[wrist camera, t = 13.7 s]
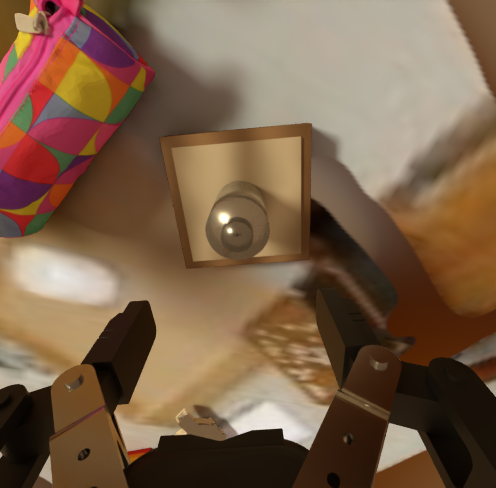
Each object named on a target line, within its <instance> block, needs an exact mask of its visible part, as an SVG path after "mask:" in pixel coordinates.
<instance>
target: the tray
mask: <svg viewBox="0 0 496 488" xmlns="http://www.w3.org/2000/svg"><path fill="white" fill-rule="evenodd" d="M311 134H312V124H310V123H302V124H291V125H280V126H269V127H258V128H247V129H236V130H225V131H214V132H203V133H192V134H181V135H170V136H164V137H159V139H160V143H161V148H162V153H163V158H164V163H165V167H166V172H167V177H168V182H169V187H170V191H171V196H172V201H173V206H174V211H175V216H176V220H177V225H178V230H179V235H180V240H181V244H182V249H183V254H184V259H185V264H186V268H187V269H188V268H201V267H215V266H229V265H242V264H256V263H270V262H283V261H297V260H310V197H311ZM234 181H246V182H249V183H251V184H253V185H255V186H256V187H257V188H258V189H259V190H260V191H261V193H262V195H263V197H264V201H265V206H266V211H267V216H268V221H269V227H270V235H269V239H268V242H267V244H266V246H265V247H264V248H263V250H262V251H261V252H259V253H258V254H257V255H255V256H253V257H251V258H249V259H245V260H232V259H228V258H225V257H223V256H221V255H219V254H218V253H217V252H215V251H214V250H213V249H212V247H211V246H210V244H209V242H208V240H207V237H206V232H205V227H206V222H207V219H208V217H209V214H210V212H211V209H212V207H213V205H214V202H215V200H216V198H217V195H218V193H219V192H220V190H221V189H222V188H223V187H224V186H225V185H227V184H229V183H231V182H234Z"/></svg>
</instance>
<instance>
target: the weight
mask: <svg viewBox="0 0 496 488" xmlns="http://www.w3.org/2000/svg"><path fill="white" fill-rule="evenodd" d="M205 232H206V237H207V240H208V242H209V244H210V246H211V247H212V249H213V250H214V251H215V252H217V253H218V254H219V255H221V256H223V257H225V258H228V259H232V260H245V259H249V258H251V257H253V256H255V255H257V254H258V253H259V252H261V251H262V250H263V248H264V247H265V246H266V244H267V242H268V239H269V235H270V227H269V221H268V216H267V211H266V206H265V201H264V197H263V195H262V193H261V191H260V190H259V189H258V188H257V187H256V186H255V185H253V184H251V183H249V182H246V181H234V182H231V183H229V184H227V185H225V186H224V187H223V188H222V189H221V190H220V192H219V193H218V195H217V198H216V200H215V202H214V205H213V207H212V209H211V212H210V214H209V217H208V219H207V222H206V227H205Z"/></svg>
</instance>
